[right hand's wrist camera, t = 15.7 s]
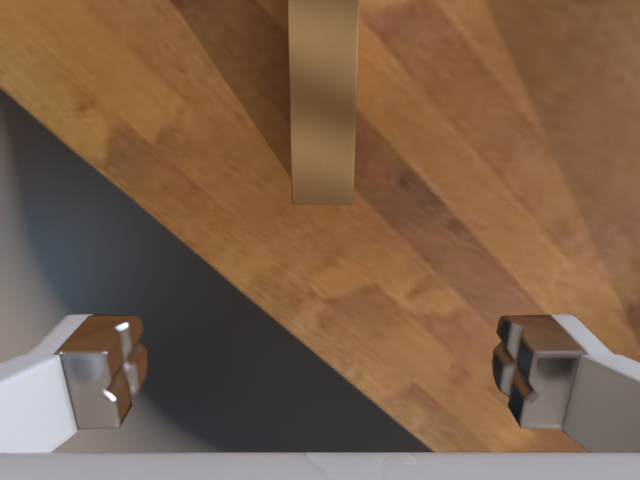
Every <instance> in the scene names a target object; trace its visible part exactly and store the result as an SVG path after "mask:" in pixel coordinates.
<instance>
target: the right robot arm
mask: <svg viewBox="0 0 640 480" xmlns="http://www.w3.org/2000/svg"><path fill="white" fill-rule="evenodd" d="M143 333H144V332H143V327H142V322H141V319H140V318H139V317H138V316H137V315H92V314H74V315H67V316H66V317H65V318H63V319H62V320H61V321H60V322H59V323H58V324H57V325H56V326H55V327H54V328H53V329H52V330H51V331H50V332H49V333H48V334H47V335H46V336H45V337H44V338H43V339H42V340H41V341H40V342H39V343H38V344H37V345H36V346H35V347H34V348H33V349H32V350H31V351H30V352H29V353H28V354H26V355H17V356H15V357H12V358H10V359H8V360H6V361H3V362H1V363H0V480H640V363H639V362H637V361H634V360H632V359H630V358H628V357H625V356H623V355H614V354H613V353H612V352H611V351H609V350H608V349H607V348H606V347H605V346H604V345H603V344H602V343H601V342H600V341H599V340H598V339H597V338H596V337H595V336H594V335H593V334H592V333H591V332H590V331H589V330H588V329H587V328H586V327H585V326H584V325H583V324H582V323H581V322H580V321H579V320H578V319H577V318H576V317H575V316H573V315H570V314H555V315H514V316H501V318H500V320H499V322H498V326H497V332H496V333H497V334H498V336H499V337H500V339H501V342H500V343H499V344H498V345H497V346H496V347H495V349H494V350H493V358H492V368H493V376H494V379H495V382H496V385H497V387H498V388H499V390H500V392H502V393H503V394H505V395H507V396H508V397H509V402H508V407H509V408H510V410H511V412H512V414H513V416H514V417H515V419H516V421H517V423H518V424H519V426H520V428H524V429H561V430H562V432H564V433H565V434H566V435H567V436H569V437H570V438H571V439H573V440H574V441H575V442H576V443H578V444H579V445H580V446H582V447H583V448H584V449H586V450H587V451H588V452H589V453H51V452H52V451H53V450H55V449H56V448H57V447H58V446H60V445H61V444H62V443H64V442H65V441H66V440H68V439H69V438H70V437H71V436H73V435H74V434H75V433H77V432H78V430H79V429H114V428H120V426H121V425H122V423H123V421H124V419H125V417H126V416H127V414H128V412H129V410H130V408H131V407H132V402H131V397H132V396H133V395H135V394H137V393H138V392H140V390H141V388H142V386H143V384H144V383H145V379H146V375H147V370H148V357H147V350H146V349H145V348H144V346H143V345H142V344H141V343H140V342H139V339H140V337H141V336H142V334H143Z"/></svg>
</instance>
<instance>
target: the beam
mask: <svg viewBox="0 0 640 480" xmlns="http://www.w3.org/2000/svg"><path fill="white" fill-rule="evenodd" d="M358 26H359V0H288V45H289V92H290V139H291V186H292V204H293V205H353V194H354V161H355V127H356V93H357V59H358Z"/></svg>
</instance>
